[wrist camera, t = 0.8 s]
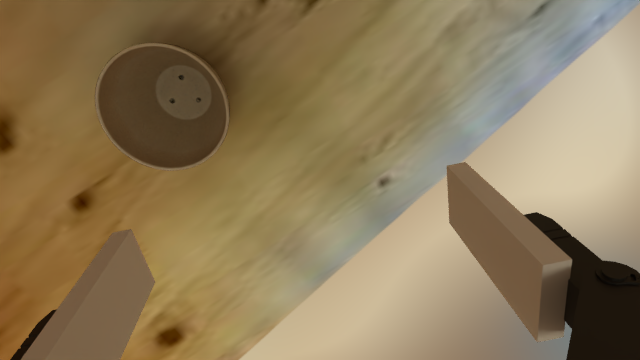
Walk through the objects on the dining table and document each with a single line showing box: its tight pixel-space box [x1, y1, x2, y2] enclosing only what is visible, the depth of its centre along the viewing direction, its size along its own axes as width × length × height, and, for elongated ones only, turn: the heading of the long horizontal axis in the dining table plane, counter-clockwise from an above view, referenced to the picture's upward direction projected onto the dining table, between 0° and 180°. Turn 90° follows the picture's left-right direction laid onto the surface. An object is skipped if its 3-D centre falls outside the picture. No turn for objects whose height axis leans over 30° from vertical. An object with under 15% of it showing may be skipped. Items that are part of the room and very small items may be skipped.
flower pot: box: [95, 43, 230, 171], centre depth 34 cm, size 10×10×7 cm
